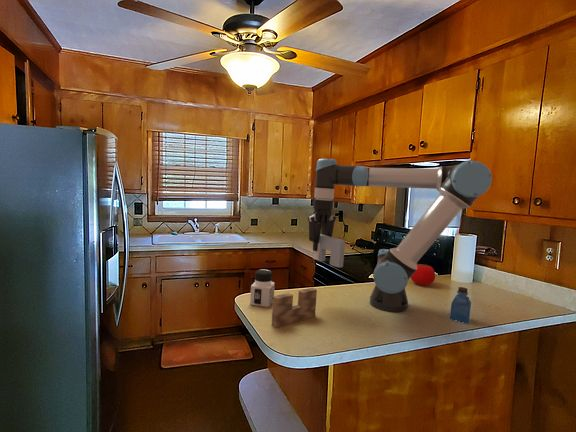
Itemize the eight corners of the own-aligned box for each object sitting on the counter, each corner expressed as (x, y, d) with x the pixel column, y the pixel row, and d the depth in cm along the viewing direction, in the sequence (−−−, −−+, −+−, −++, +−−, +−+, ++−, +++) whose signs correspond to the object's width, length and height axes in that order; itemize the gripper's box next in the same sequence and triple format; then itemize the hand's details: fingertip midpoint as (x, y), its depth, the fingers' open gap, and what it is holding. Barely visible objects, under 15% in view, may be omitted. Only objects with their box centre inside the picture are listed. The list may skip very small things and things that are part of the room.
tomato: (432, 289, 163) (434, 268, 162) (406, 284, 169) (408, 263, 168) (436, 284, 172) (438, 264, 171) (411, 279, 179) (413, 260, 178)
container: (269, 307, 129) (270, 274, 127) (249, 304, 130) (251, 272, 129) (273, 300, 136) (275, 269, 135) (255, 298, 138) (257, 267, 136)
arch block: (312, 258, 134) (314, 234, 133) (317, 258, 135) (319, 233, 134) (338, 267, 123) (340, 240, 122) (342, 266, 124) (345, 240, 123)
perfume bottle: (468, 323, 124) (471, 292, 122) (449, 319, 127) (453, 288, 126) (469, 318, 129) (472, 288, 128) (451, 314, 132) (454, 284, 131)
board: (310, 313, 125) (312, 287, 124) (315, 316, 123) (316, 289, 122) (271, 325, 113) (273, 296, 112) (275, 327, 112) (277, 298, 110)
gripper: (331, 198, 138) (326, 254, 140) (302, 198, 128) (297, 258, 131) (344, 200, 132) (339, 259, 134) (315, 199, 122) (310, 262, 125)
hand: (318, 258), depth 133 cm, fingers closed on arch block, 2 cm apart
